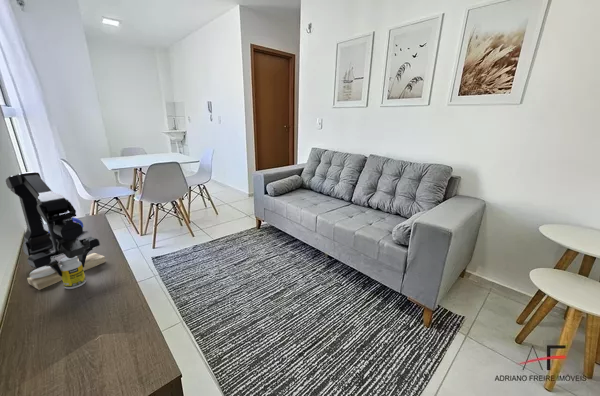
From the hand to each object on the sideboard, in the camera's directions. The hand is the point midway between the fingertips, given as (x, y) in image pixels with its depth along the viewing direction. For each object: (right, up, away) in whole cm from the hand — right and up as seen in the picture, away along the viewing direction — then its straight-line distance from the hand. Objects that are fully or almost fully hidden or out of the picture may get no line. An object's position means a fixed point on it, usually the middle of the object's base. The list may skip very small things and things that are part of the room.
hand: (72, 271), depth 92 cm
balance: (-9, -3, +9) cm, 14 cm away
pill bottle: (0, -5, +2) cm, 6 cm away
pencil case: (-39, +5, +39) cm, 56 cm away
